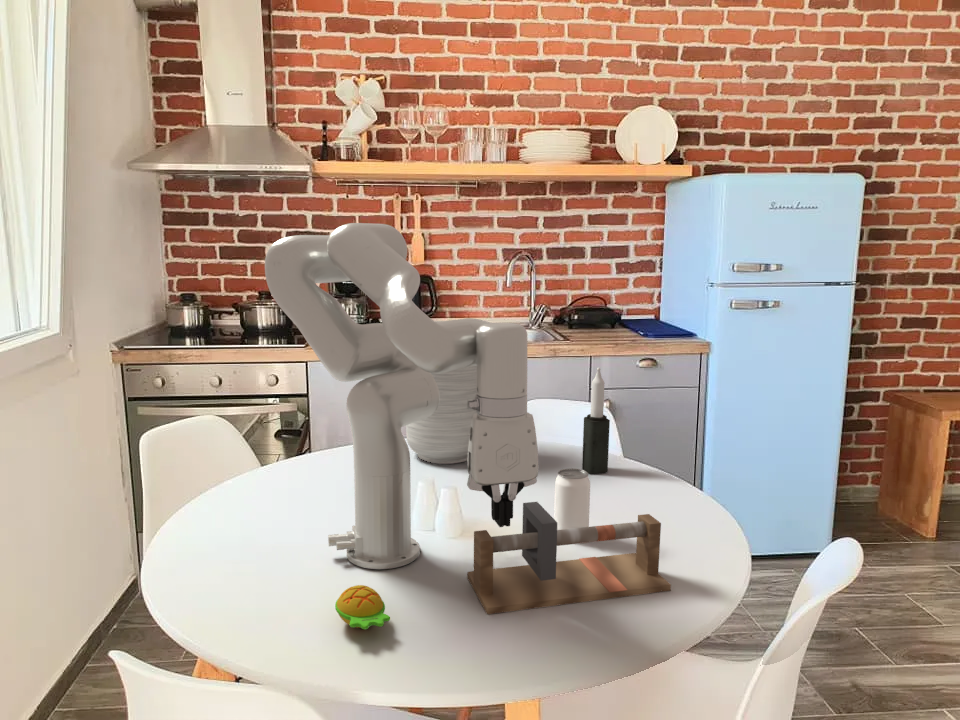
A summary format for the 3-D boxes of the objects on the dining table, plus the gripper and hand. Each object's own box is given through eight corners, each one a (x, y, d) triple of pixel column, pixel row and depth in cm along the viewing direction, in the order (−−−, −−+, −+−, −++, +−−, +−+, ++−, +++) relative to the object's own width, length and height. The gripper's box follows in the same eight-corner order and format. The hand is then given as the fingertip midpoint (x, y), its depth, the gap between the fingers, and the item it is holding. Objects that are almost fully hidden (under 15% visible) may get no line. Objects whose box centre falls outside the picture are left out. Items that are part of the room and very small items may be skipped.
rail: (487, 614, 106) (487, 552, 104) (467, 577, 117) (467, 521, 115) (670, 590, 113) (673, 532, 112) (635, 558, 125) (637, 505, 123)
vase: (452, 440, 197) (453, 317, 191) (501, 457, 181) (504, 325, 176) (390, 453, 184) (388, 323, 178) (437, 473, 169) (437, 331, 163)
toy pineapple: (374, 605, 108) (374, 572, 107) (398, 639, 99) (397, 602, 98) (329, 616, 105) (328, 581, 104) (349, 651, 96) (348, 613, 95)
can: (587, 543, 131) (589, 480, 129) (551, 540, 132) (553, 477, 130) (589, 529, 137) (591, 469, 135) (555, 526, 138) (557, 466, 136)
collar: (540, 580, 109) (542, 524, 107) (521, 555, 117) (523, 502, 116) (555, 578, 109) (557, 522, 108) (535, 554, 118) (537, 501, 116)
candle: (580, 468, 174) (583, 366, 169) (599, 466, 175) (603, 365, 171) (589, 474, 169) (593, 370, 165) (609, 473, 170) (613, 369, 166)
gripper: (459, 415, 102) (460, 538, 104) (558, 408, 105) (556, 527, 108) (447, 404, 109) (449, 519, 112) (540, 398, 113) (539, 510, 115)
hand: (502, 523), depth 110 cm, fingers closed
